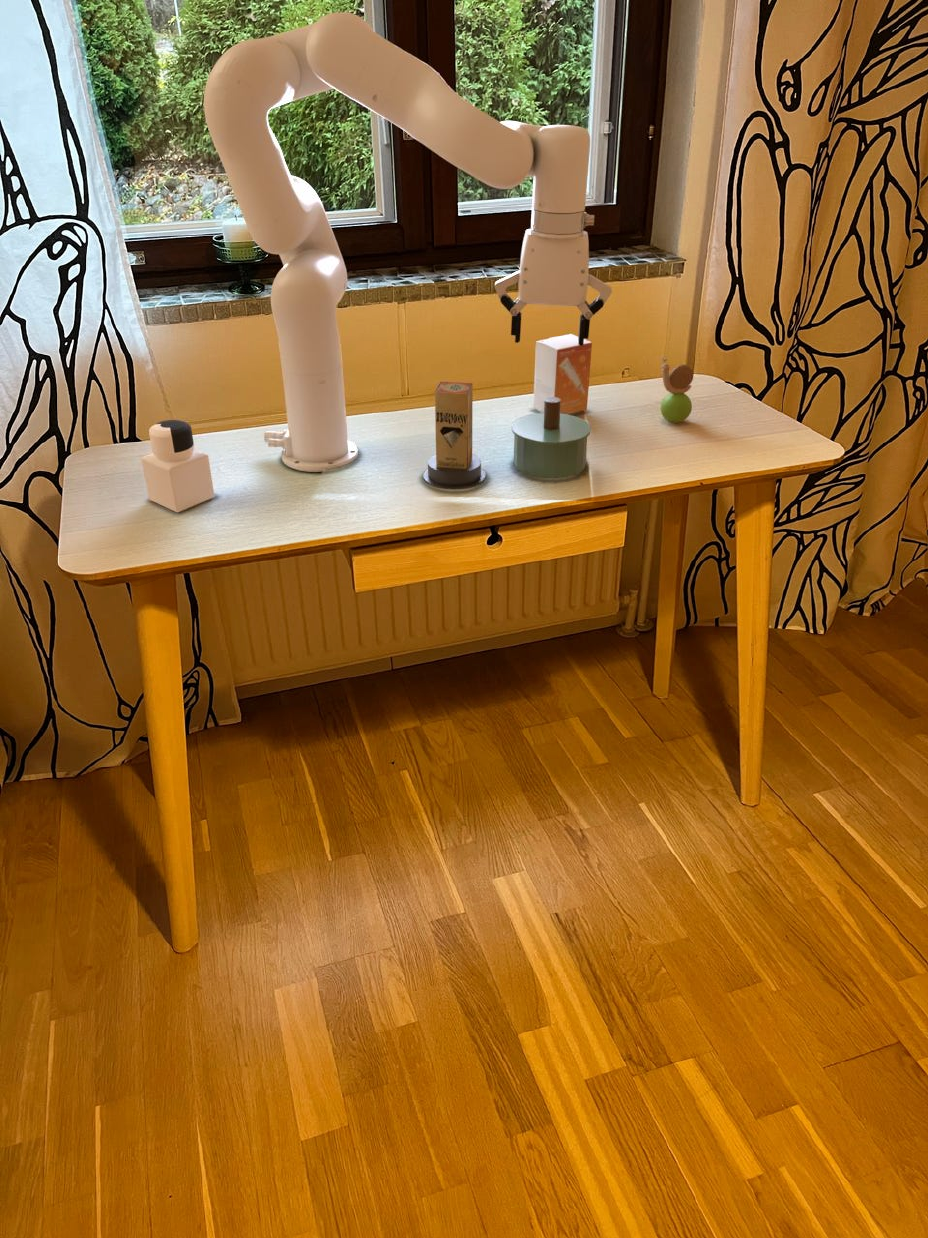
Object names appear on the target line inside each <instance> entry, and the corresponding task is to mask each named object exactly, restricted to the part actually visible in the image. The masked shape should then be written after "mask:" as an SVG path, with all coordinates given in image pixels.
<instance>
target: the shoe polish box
mask: <svg viewBox="0 0 928 1238" xmlns="http://www.w3.org/2000/svg"><path fill="white" fill-rule="evenodd" d="M434 408H435V409H434V411H435V412H434V414H435V416H434V417H435V455H436V467H441V468H458V469H468V467H469V464H470V462H471V459H472V454H473V382H458V381H457V382H456V381H440V382H439V384H438V385H437V388H436V389H435V392H434Z"/></svg>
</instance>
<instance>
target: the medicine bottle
mask: <svg viewBox="0 0 928 1238" xmlns="http://www.w3.org/2000/svg"><path fill="white" fill-rule="evenodd" d="M148 435H149V440H150V446H151V451H152V453H149V454H147V455H144V456H142V457H141V464H142V469H143V474H144V479H145V484H146V490H147V495H148V499H149V500H150V501H152V502H154V503H156V504H158V505H160V506H162V507H164V508H166V509H168V510H171V511H173V512H175V513H180V512H183V511H185V510H187V509H190V508H192V507H194V506H197V505H199V504H202V503H205V502H206V501H209V500H211V499H213V498H215V490H214V485H213V484H214V483H213V477H212V471H211V465H210V464H211V463H210V458H209V455H208V454H207V453H205V452H202V451H200V450H197V449H195V443H194V436H193V431H192V426H191V424H189V422H186V421H183V420H179V419H165V420H162V421H159V422H157V423H155V424H153V425H152V426H150V427H149V430H148Z"/></svg>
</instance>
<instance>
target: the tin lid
mask: <svg viewBox="0 0 928 1238" xmlns="http://www.w3.org/2000/svg"><path fill="white" fill-rule="evenodd" d="M560 409H561V399H559V398H557V397H548V398H545V399H544V413H542V412H539V413H538V412H536V413H531V414H530V413H529V414H526V415H523V416H521V417H519V418H517V419H516V420H514V421H513V422H512V424H511V432H512V434H513V435H515V436H517V437H518V438H520V439H522V440H525V441H528V442H531V443H536V444H542V445H565V444H572V443H576V442H579V441H582V440H584V439H586V438H587V439H588V437H590V435H591V433H592V427H591V425H590V423H589V422H588V421H586V420H585V419H583V418H581V417H578V416H576V415H573V414H562V413H560Z"/></svg>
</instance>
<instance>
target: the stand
mask: <svg viewBox="0 0 928 1238" xmlns="http://www.w3.org/2000/svg"><path fill="white" fill-rule="evenodd" d="M422 479H423V481H424V482H425V483H426V484H428V485H430V486H432V487H434V488H438V489H442V490H453V491H454V490H466V489H467V490H468V489H470V488H475V487H478V486H479V485H482V483H484V482H485V480H486V479H487V473H486V471H485V470H484V468H482V459H480V457H479V456H477V455H476V454H474V453H472V459H471V462H470V464H469V467H468V469H458V468H441V467H436V454H434V455H432V456H430V457H429V459H428V460H427V469H425V470H424V471H423V473H422Z"/></svg>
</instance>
